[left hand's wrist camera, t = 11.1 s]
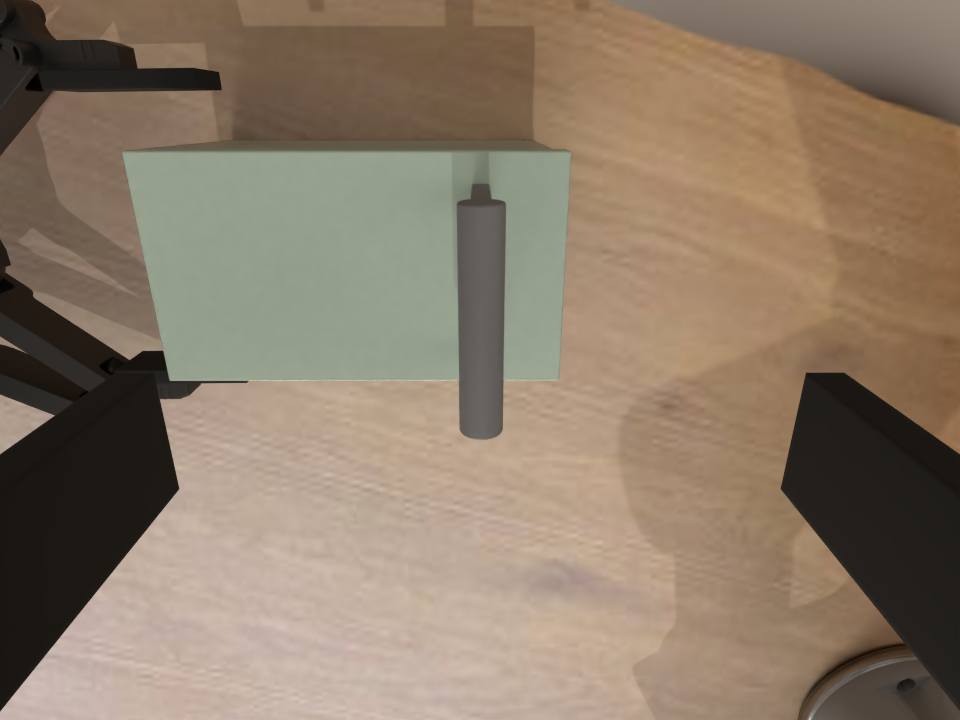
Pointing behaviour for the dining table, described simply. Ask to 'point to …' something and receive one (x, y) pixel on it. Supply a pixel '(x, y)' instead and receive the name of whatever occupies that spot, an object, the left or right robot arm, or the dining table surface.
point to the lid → (358, 265)
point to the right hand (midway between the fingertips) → (234, 235)
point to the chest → (363, 144)
